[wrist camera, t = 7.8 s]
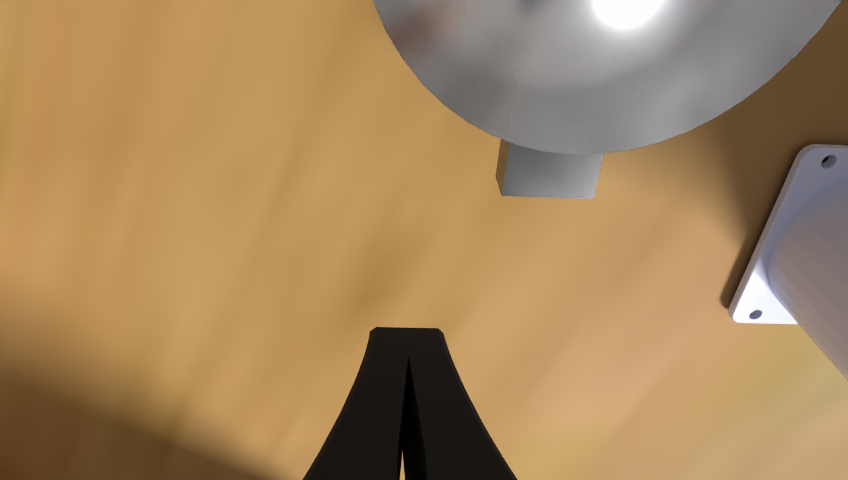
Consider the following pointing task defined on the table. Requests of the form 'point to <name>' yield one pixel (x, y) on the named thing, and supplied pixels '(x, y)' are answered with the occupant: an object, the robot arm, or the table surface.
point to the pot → (546, 173)
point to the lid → (597, 63)
